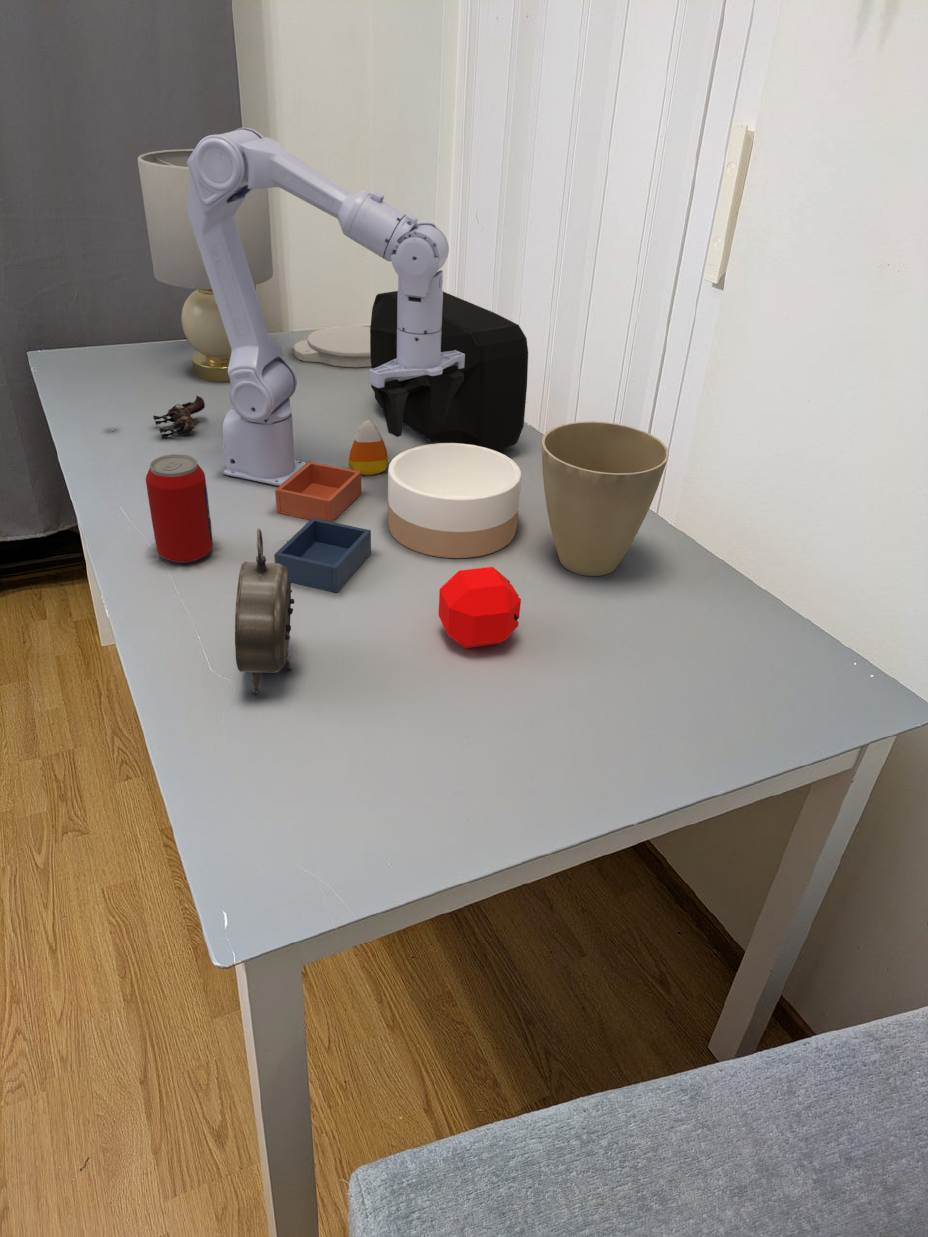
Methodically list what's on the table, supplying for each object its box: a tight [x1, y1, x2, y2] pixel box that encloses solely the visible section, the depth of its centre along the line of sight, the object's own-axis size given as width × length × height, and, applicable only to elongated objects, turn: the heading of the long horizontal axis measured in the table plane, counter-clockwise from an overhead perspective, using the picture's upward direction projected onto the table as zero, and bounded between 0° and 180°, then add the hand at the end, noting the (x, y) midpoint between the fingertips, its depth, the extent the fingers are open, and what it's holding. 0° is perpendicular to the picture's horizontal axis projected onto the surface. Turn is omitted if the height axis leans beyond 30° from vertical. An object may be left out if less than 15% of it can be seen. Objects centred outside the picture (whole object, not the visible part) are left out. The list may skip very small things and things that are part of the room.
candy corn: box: [348, 420, 389, 476], centre depth 133 cm, size 6×3×8 cm, turn 105°
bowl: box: [387, 443, 522, 559], centre depth 120 cm, size 17×17×8 cm
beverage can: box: [145, 453, 214, 564], centre depth 110 cm, size 7×7×12 cm
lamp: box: [137, 148, 274, 383], centre depth 157 cm, size 20×20×35 cm
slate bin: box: [274, 518, 372, 593], centre depth 111 cm, size 8×10×3 cm
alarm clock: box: [234, 527, 296, 696], centre depth 90 cm, size 11×5×16 cm, turn 5°
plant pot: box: [541, 420, 670, 577], centre depth 112 cm, size 15×15×16 cm
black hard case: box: [369, 290, 529, 452], centre depth 144 cm, size 30×12×20 cm, turn 37°
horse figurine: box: [111, 395, 206, 439], centre depth 143 cm, size 9×4×15 cm
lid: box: [292, 325, 371, 369], centre depth 178 cm, size 17×20×3 cm
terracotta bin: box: [274, 461, 362, 522], centre depth 125 cm, size 8×10×3 cm
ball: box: [438, 566, 522, 649], centre depth 99 cm, size 8×8×8 cm
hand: (416, 427), depth 125 cm, fingers open, 7 cm apart
